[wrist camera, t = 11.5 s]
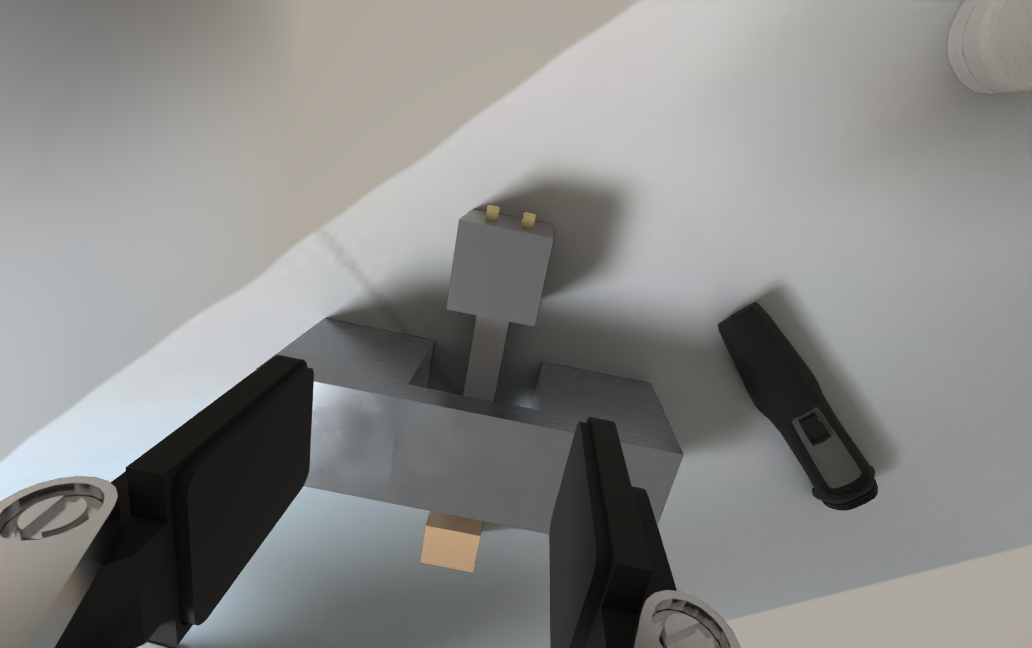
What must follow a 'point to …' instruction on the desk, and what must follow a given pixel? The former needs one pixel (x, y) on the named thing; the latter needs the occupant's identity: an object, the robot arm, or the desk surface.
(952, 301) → the desk surface
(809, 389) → the electric trimmer
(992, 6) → the electronic device
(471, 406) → the block
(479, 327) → the lever
